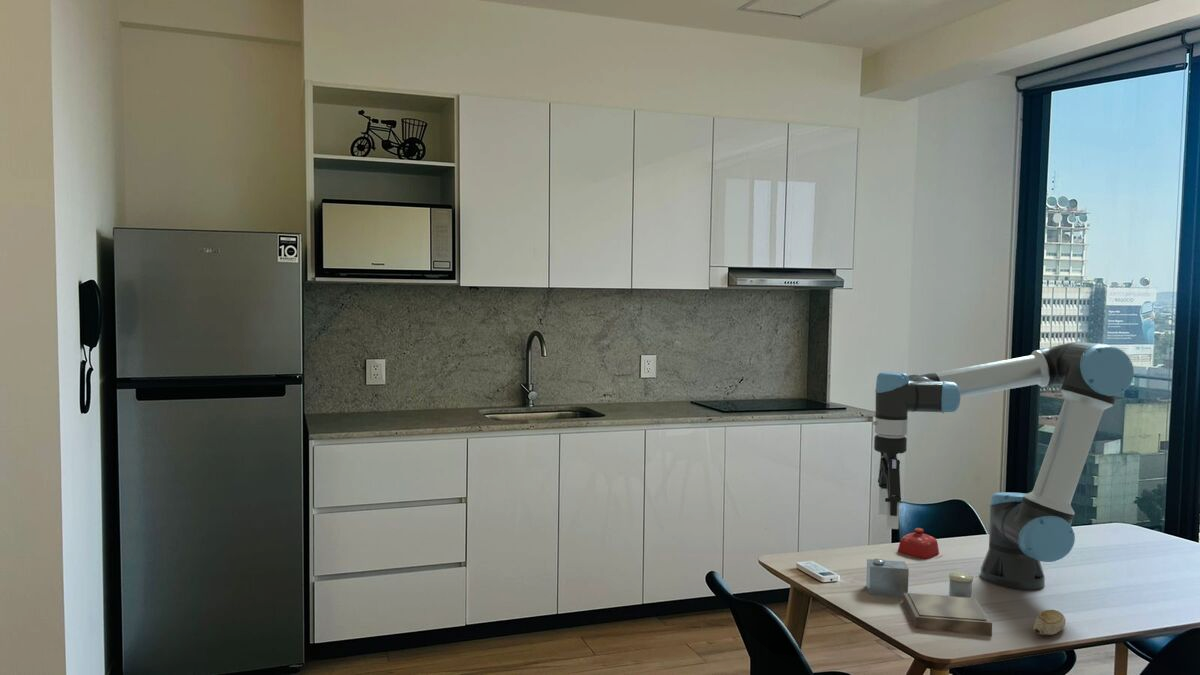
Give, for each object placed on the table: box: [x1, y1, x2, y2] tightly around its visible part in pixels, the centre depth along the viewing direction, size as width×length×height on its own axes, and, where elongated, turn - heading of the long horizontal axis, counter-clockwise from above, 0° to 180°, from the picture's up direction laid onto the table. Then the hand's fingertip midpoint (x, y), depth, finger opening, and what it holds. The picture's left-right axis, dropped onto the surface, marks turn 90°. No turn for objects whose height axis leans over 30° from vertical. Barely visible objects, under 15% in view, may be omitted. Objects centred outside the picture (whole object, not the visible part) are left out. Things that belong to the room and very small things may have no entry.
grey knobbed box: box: [865, 558, 910, 599], centre depth 217 cm, size 9×6×9 cm, turn 80°
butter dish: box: [897, 527, 943, 560], centre depth 249 cm, size 12×12×8 cm
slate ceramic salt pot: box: [948, 571, 974, 598], centre depth 213 cm, size 5×5×7 cm
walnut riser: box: [902, 592, 993, 637], centre depth 202 cm, size 16×16×3 cm
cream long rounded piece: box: [1032, 609, 1067, 636], centre depth 195 cm, size 5×14×4 cm, turn 137°
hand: (888, 521), depth 216 cm, fingers open, 13 cm apart
